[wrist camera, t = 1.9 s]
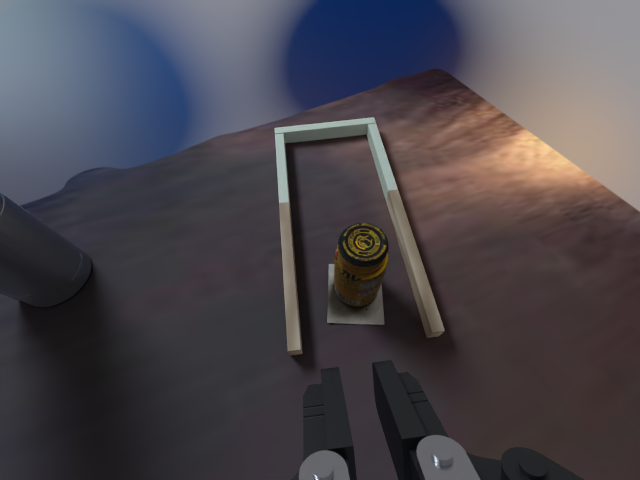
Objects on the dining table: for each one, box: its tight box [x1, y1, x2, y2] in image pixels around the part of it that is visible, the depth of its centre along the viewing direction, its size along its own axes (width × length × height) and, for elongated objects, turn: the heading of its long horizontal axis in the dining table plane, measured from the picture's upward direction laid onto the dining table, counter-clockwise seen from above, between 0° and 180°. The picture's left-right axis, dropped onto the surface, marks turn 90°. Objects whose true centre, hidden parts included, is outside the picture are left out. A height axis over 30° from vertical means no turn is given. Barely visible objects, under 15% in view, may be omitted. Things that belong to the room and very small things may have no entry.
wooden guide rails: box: [279, 189, 445, 356], centre depth 42 cm, size 18×22×2 cm
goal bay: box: [275, 117, 398, 210], centre depth 53 cm, size 18×18×2 cm
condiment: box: [327, 223, 389, 325], centre depth 36 cm, size 7×8×12 cm
